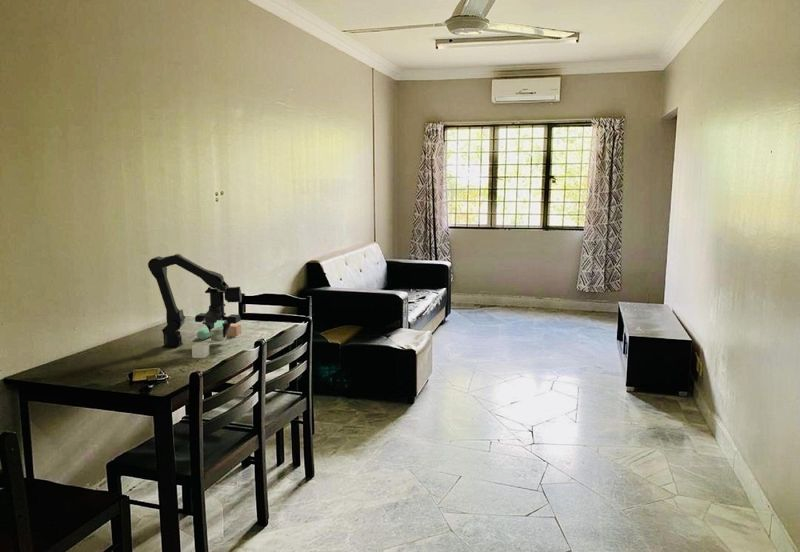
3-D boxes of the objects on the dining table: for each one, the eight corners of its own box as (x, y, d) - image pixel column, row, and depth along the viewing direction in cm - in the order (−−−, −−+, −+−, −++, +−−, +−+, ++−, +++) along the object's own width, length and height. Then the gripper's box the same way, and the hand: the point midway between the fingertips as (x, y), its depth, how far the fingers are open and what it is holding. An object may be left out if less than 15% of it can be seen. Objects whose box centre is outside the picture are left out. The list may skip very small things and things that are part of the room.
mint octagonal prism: (202, 327, 266) (231, 314, 290) (192, 331, 268) (221, 318, 292) (207, 339, 267) (236, 325, 291) (197, 343, 268) (226, 329, 292)
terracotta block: (226, 336, 274) (226, 326, 274) (230, 333, 279) (230, 323, 278) (236, 336, 274) (236, 326, 273) (241, 334, 279) (240, 323, 278)
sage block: (210, 340, 258) (210, 329, 257) (215, 337, 263) (215, 327, 262) (221, 341, 258) (221, 330, 257) (226, 338, 263) (226, 327, 262)
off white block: (192, 357, 242) (191, 345, 241) (198, 354, 247) (197, 342, 246) (203, 358, 241) (203, 346, 241) (209, 354, 246) (208, 343, 245)
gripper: (187, 305, 251) (189, 341, 254) (229, 307, 249) (231, 343, 251) (200, 300, 262) (201, 334, 264) (240, 301, 259) (241, 336, 262)
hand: (218, 337), depth 260 cm, fingers closed on sage block, 5 cm apart
